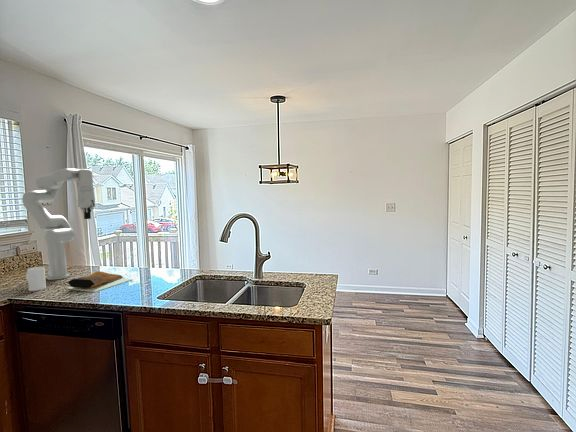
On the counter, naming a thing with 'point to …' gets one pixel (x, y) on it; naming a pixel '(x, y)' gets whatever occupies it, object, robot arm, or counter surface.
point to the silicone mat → (102, 285)
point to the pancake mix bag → (93, 280)
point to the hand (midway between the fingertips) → (87, 218)
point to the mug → (36, 278)
